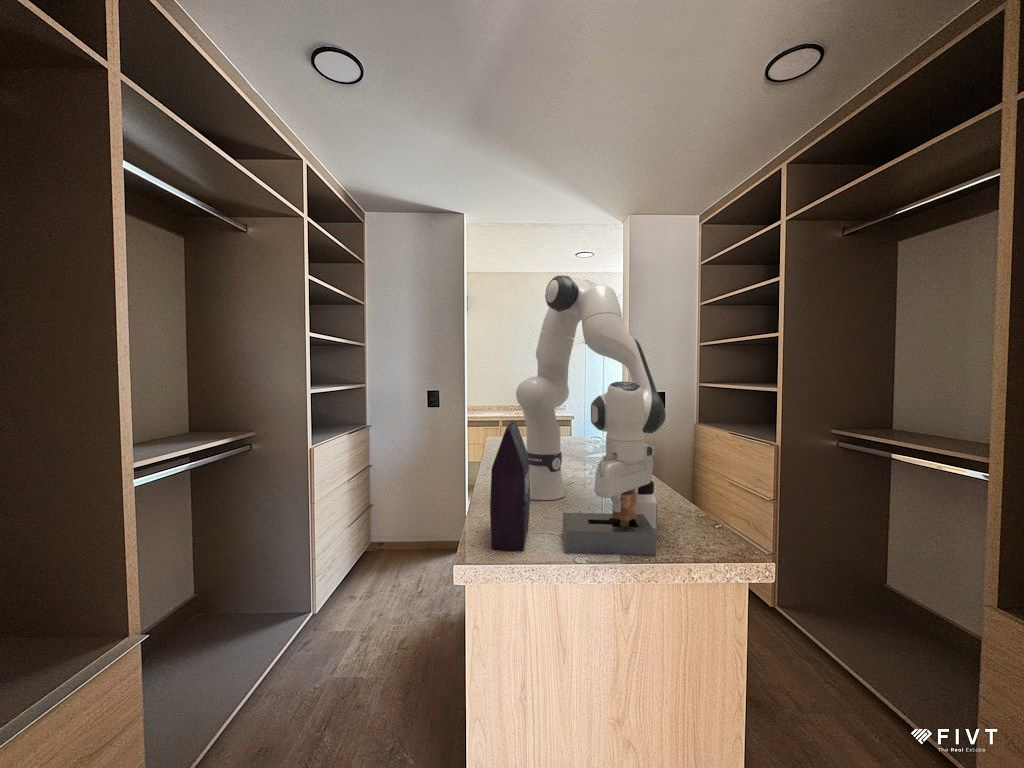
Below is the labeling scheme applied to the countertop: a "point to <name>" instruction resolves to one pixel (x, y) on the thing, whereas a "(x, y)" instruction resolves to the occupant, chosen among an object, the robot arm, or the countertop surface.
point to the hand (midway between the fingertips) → (624, 508)
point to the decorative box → (510, 492)
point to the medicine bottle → (647, 503)
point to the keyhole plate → (607, 534)
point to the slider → (626, 508)
